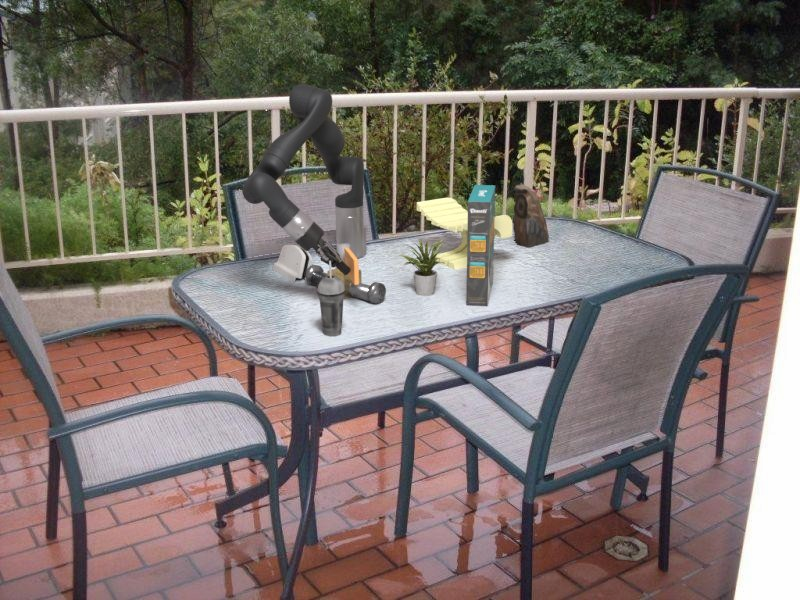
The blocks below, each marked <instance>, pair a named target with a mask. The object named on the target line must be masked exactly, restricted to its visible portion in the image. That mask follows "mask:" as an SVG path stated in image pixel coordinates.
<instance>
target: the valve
mask: <svg viewBox="0 0 800 600" xmlns="http://www.w3.org/2000/svg"><path fill="white" fill-rule="evenodd" d="M331 272H332V276H336V277H338V278H339V279H340V280H341V281H342V282H343V285H344V288H345V296H344V300H345V299H348V298H351V297H352V298H357V299H360V300H363V301H367V302H370V303H373V304H376V305H379V304H381V303H382V302H383V301H384V299H385V297H386V294H387V288H386V286H385V285H384V283H382V282H378V281H375V282H373V283H371V284H370V285H369V284H366V283H362V281H363V280H362V269H359V285H354V283H353V282H352V280H351V279H350V278H349V276H348V275H344V274H343V273H342V272H341V271H340V270H339V269H337V268H336V267H334V268H333V269H332V268H331ZM327 276H330V273H329V270H327V271H326V272H325V271H324V269H323V268H322V266H321V265H317V264H311V266H310V267H309V268H308V269H307V271H306V275H305V277H306V280H305V281H306V283H308V284H309V285H313V286H316V287H318V285H319V283H320V281H321V280H322V279H323V278H325V277H327Z"/></svg>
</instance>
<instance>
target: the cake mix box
mask: <svg viewBox="0 0 800 600" xmlns="http://www.w3.org/2000/svg"><path fill="white" fill-rule="evenodd" d="M467 211H468V229H467V267H466V295H465V296H466V299H465V303H466V304H465V305H466V306H468V307H469V306H470V307H471V306H472V307H488V306H489V302H490V297H491V294H492V288H493V284H494V258H495V257H494V256H495V255H494V254H495V253H494V251H495V249H494V247H495V238H494V219H495V211H496V185H493V184H491V185H490V184H489V185H488V184H487V185H486V184H474V186H473V189H472V191H471V193H470V196H469V198H468V200H467Z"/></svg>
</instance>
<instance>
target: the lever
mask: <svg viewBox="0 0 800 600" xmlns="http://www.w3.org/2000/svg"><path fill="white" fill-rule="evenodd" d="M337 249H338V254H339V255H340V257H341V259H342V261H343V262H344V263H345V264H346V265H347V266H348V267H349V268H350V272H349V273H348V274H347V275H348V276H349V278H350V279H351V280H352V282H353V283H354V285H359V270H360V268H359V258H356V256H355V255H354V254H353V253H352V251H351V250H350V244H349V243H338V244H337V245H336V250H337Z"/></svg>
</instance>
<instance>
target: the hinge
mask: <svg viewBox="0 0 800 600" xmlns="http://www.w3.org/2000/svg"><path fill="white" fill-rule="evenodd" d="M278 256H279V257H278V259H277V261H276V262H275V263H273V265H272V270H274V271H275V272H277V273H278V274H279V275H281V276H282V277H284V278H286V279H287V280H289V281H290V282H292V283H295V281H296V279H303V280H305V281H306V277H305V275H306V271H307V269H308V268H309V267H310V266H311V265H313V256H312V255H311V254H310V252H309V250H308V251H305V250H304V249H303V248H302V247H301V246H300V245H296V244H284V245H283V246H282V247H281V251H280V254H279V255H278Z"/></svg>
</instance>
